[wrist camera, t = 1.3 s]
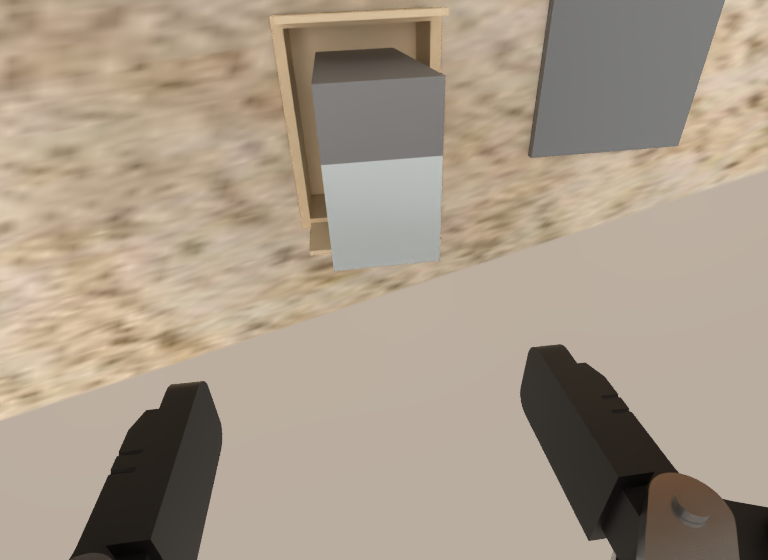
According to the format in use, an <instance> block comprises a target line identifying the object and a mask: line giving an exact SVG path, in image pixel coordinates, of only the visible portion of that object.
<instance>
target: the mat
mask: <svg viewBox="0 0 768 560" xmlns="http://www.w3.org/2000/svg"><path fill="white" fill-rule="evenodd" d="M724 2H725V0H550V4H549V11H548V19H547V26H546V33H545V40H544V47H543V54H542V62H541V69H540V76H539V83H538V90H537V98H536V105H535V112H534V119H533V126H532V134H531V141H530V148H529V155H528V156H530V157H531V158H535V157H547V156H560V155H572V154H585V153H597V152H609V151H622V150H634V149H647V148H659V147H671V146H678V144H679V141H680V138H681V135H682V132H683V129H684V126H685V123H686V120H687V116H688V113H689V110H690V107H691V104H692V101H693V98H694V95H695V92H696V89H697V85H698V82H699V79H700V76H701V73H702V70H703V67H704V64H705V61H706V58H707V54H708V51H709V48H710V45H711V42H712V39H713V36H714V33H715V30H716V26H717V23H718V20H719V17H720V14H721V11H722V8H723V5H724Z"/></svg>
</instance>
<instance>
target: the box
mask: <svg viewBox="0 0 768 560" xmlns="http://www.w3.org/2000/svg"><path fill="white" fill-rule="evenodd" d="M311 87H312V95H313V103H314V112H315V120H316V128H317V136H318V144H319V153H320V161H321V169H322V177H323V185H324V194H325V202H326V210H327V218H328V226H329V235H330V243H331V251H332V259H333V267H334V271H342V270H352V269H362V268H372V267H382V266H392V265H402V264H412V263H422V262H433V261H440V229H441V198H442V166H443V135H444V104H445V75H443V74H441V73H439V72H438V71H436V70H434V69H432V68H430V67H428V66H426V65H425V64H423V63H421V62H419V61H417V60H415V59H413V58H412V57H410V56H408V55H406V54H404V53H402V52H400V51H399V50H397V49H395V48H375V49H358V50H341V51H323V52H315V59H314V67H313V74H312V82H311Z"/></svg>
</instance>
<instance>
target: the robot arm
mask: <svg viewBox="0 0 768 560" xmlns="http://www.w3.org/2000/svg"><path fill="white" fill-rule="evenodd" d="M520 396H521V403H522V407H523V410H524V412H525V415H526V417H527V419H528V421H529V423H530V425H531V427H532V429H533V431H534V433H535V435H536V437H537V439H538V441H539V443H540V445H541V446H542V449H543V451H544V453H545V455H546V457H547V459H548V461H549V463H550V465H551V467H552V469H553V471H554V473H555V475H556V476H557V479H558V481H559V482H560V485H561V486H562V488H563V491H564V493H565V495H566V497H567V499H568V500H569V502H570V505H571V506H572V509H573V510H574V513H575V515H576V517H577V518H578V520H579V522H580V524H581V526H582V528H583V530H584V532H585V534H586V536H587V538H588V540H589V541H591V540H598V539H604V538H607V539H608V541H609V543H610V545H611V547H612V549H613V550H614V552H613V553H612V557H611V560H768V507H762V506H756V505H750V504H745V503H739V502H734V501H729V500H725V499H722V498H721V497H720V496H719V495H718V494H717V493H716V492H715V491H714V490H713V489H711V488H710V487H708V486H707V485H706V484H704V483H702V482H701V481H699V480H697V479H695V478H692V477H690V476H687V475H683V474H680V473H678V471H677V470H676V469H675V468H674V467H673V465H672V464H671V463H670V461H669V460H668V459H667V458H666V456H665V455H664V454H663V452H662V451H661V450H660V448H659V447H658V446H657V444H656V443H655V442H654V441H653V439H652V438H651V437H650V435H649V434H648V433H647V431H646V430H645V429H644V427H643V426H642V425H641V424H640V422H639V421H638V420H637V419H636V417H635V416H634V414H633V413H632V412H629V408H628V407H627V405H626V404H625V403H624V401H623V400H622V399H621V398H619V397H618V394H617V392H616V391H615V390H614V389H613V387H612V386H611V384H610V383H609V382H608V381H607V379H606V378H605V377H604V376H603V375H602V374H600V373H599V372H598V371H596V370H595V369H593V368H592V367H591V366H589V365H588V364H587V363H578V364H577V363H576V361H575V360H574V358H573V357H572V356H571V354H570V353H569V351H568V350H567V349H566V347H564V346H563V345H560V344H559V345H550V346H540V347H532V348H531V349H530V350H529V353H528V356H527V361H526V366H525V370H524V375H523V380H522V384H521V390H520ZM221 446H222V428H221V422H220V419H219V417H218V414H217V411H216V408H215V405H214V402H213V399H212V396H211V393H210V391H209V388H208V385H207V383H206V382H204V381H200V382H192V383H181V384H172V385H170V386H169V387H168V388H167V391H166V393H165V395H164V398H163V400H162V403H161V406H160V408H159V409H153V410H146V411H145V412H144V413H143V415H142V416H141V417H140V418H139V419H138V420H137V421H136V422H135V424H134V425H133V426H132V427H131V428H130V429H129V430H128V432H127V435H126V437H125V439H124V441H123V444H122V446H121V448H120V450H119V456H117V457H116V459H115V462H114V464H113V466H112V468H111V474H110V475H108V477H107V480H106V482H105V484H104V486H103V489H102V491H101V493H100V495H99V498H98V500H97V502H96V504H95V507H94V509H93V511H92V513H91V515H90V518H89V520H88V522H87V524H86V527H85V529H84V531H83V533H82V536H81V538H80V540H79V542H78V545H77V547H76V549H75V551H74V553H73V554H72V556H71V558H70V559H69V560H197V556H198V552H199V547H200V543H201V538H202V534H203V529H204V525H205V520H206V516H207V511H208V506H209V502H210V498H211V493H212V488H213V484H214V479H215V475H216V470H217V466H218V461H219V456H220V452H221Z"/></svg>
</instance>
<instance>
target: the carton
mask: <svg viewBox="0 0 768 560" xmlns="http://www.w3.org/2000/svg"><path fill="white" fill-rule="evenodd" d="M447 15H449V8H442V7H428V8H404V9H385V10H365V11H345V12H325V13H305V14H285V15H273V16H269V19H270V26H271V32H272V38H273V45H274V51H275V57H276V63H277V70H278V76H279V82H280V89H281V95H282V101H283V108H284V114H285V120H286V127H287V133H288V139H289V146H290V152H291V158H292V165H293V171H294V177H295V184H296V190H297V196H298V203H299V209H300V215H301V222H302V228H308V227H311V231H310V256H313V255H323V254H332V251H331V243H330V235H329V226H328V218H327V210H326V202H325V194H324V185H323V177H322V169H321V161H320V153H319V144H318V136H317V128H316V120H315V112H314V103H313V95H312V87H311V82H312V74H313V67H314V59H315V52H323V51H341V50H358V49H375V48H395V49H397V50H399V51H400V52H402V53H404V54H406V55H408V56H410V57H412V58H413V59H415V60H417V61H419V62H421V63H423V64H425V65H426V66H428V67H430V68H432V69H434V70H436V71H438V72H439V73H440V57H441V18H442V16H447ZM441 242H442V239H441V237H440V243H441Z"/></svg>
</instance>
